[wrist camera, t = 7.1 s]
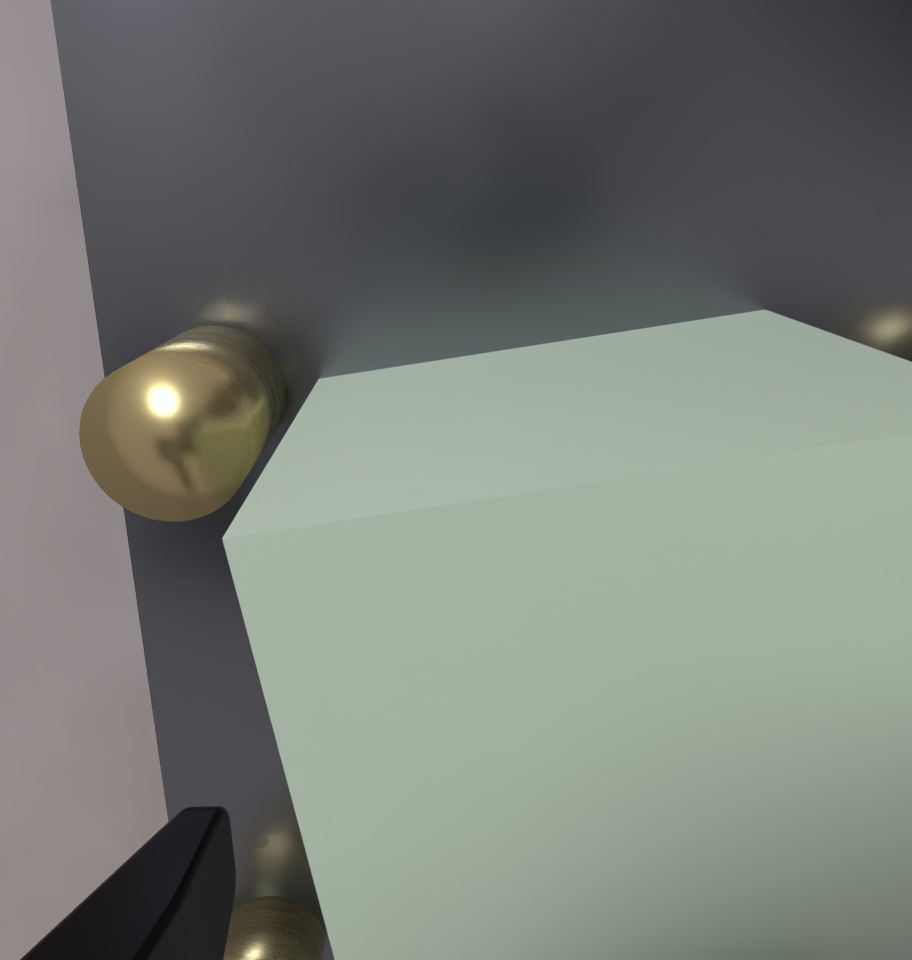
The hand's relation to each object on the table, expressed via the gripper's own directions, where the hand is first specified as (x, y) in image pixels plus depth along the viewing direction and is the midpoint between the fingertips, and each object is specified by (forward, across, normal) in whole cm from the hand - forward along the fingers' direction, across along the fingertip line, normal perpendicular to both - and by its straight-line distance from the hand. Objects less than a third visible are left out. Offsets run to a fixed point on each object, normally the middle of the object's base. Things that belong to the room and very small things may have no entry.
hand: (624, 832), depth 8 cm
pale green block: (+2, 0, 0) cm, 2 cm away
